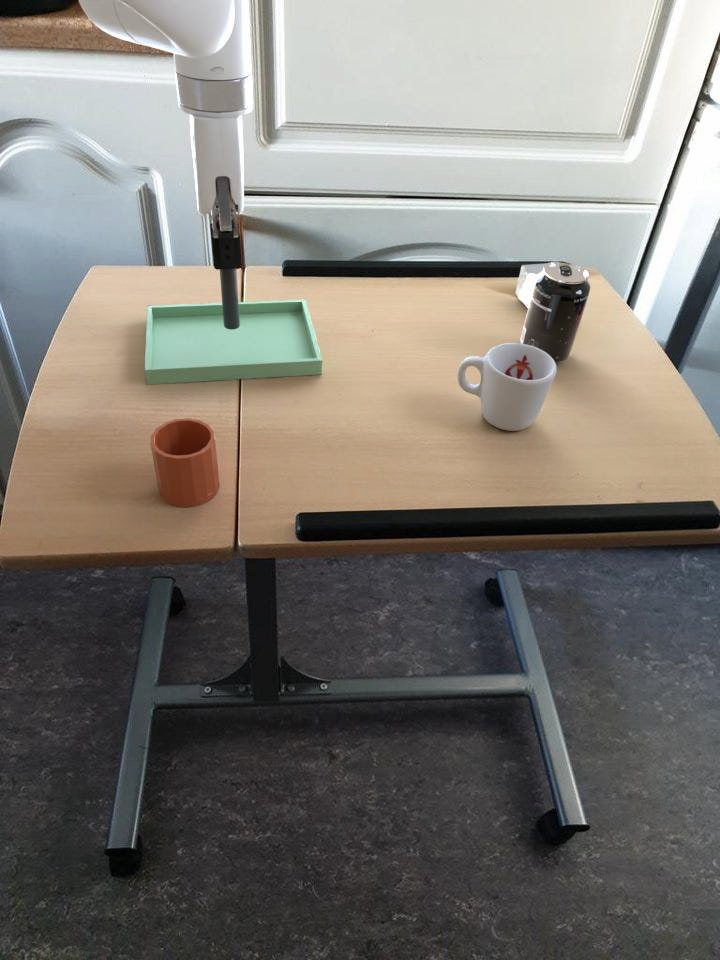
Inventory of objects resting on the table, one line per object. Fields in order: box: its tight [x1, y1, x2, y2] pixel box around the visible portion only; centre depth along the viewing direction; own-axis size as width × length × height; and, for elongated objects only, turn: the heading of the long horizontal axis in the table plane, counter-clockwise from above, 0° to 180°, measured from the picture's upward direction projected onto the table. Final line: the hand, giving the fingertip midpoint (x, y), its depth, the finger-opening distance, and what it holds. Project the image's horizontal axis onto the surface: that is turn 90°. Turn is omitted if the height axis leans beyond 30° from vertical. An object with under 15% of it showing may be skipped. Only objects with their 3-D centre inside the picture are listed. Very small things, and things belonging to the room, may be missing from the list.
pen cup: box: [150, 417, 220, 508], centre depth 70 cm, size 6×6×6 cm
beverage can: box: [519, 260, 591, 364], centre depth 91 cm, size 7×7×12 cm
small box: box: [514, 262, 549, 309], centre depth 104 cm, size 6×6×5 cm
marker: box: [217, 217, 240, 330], centre depth 85 cm, size 2×2×14 cm
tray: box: [144, 299, 323, 386], centre depth 91 cm, size 21×15×2 cm
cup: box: [457, 342, 558, 432], centre depth 82 cm, size 11×8×8 cm
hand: (227, 261), depth 84 cm, fingers closed on marker, 2 cm apart
